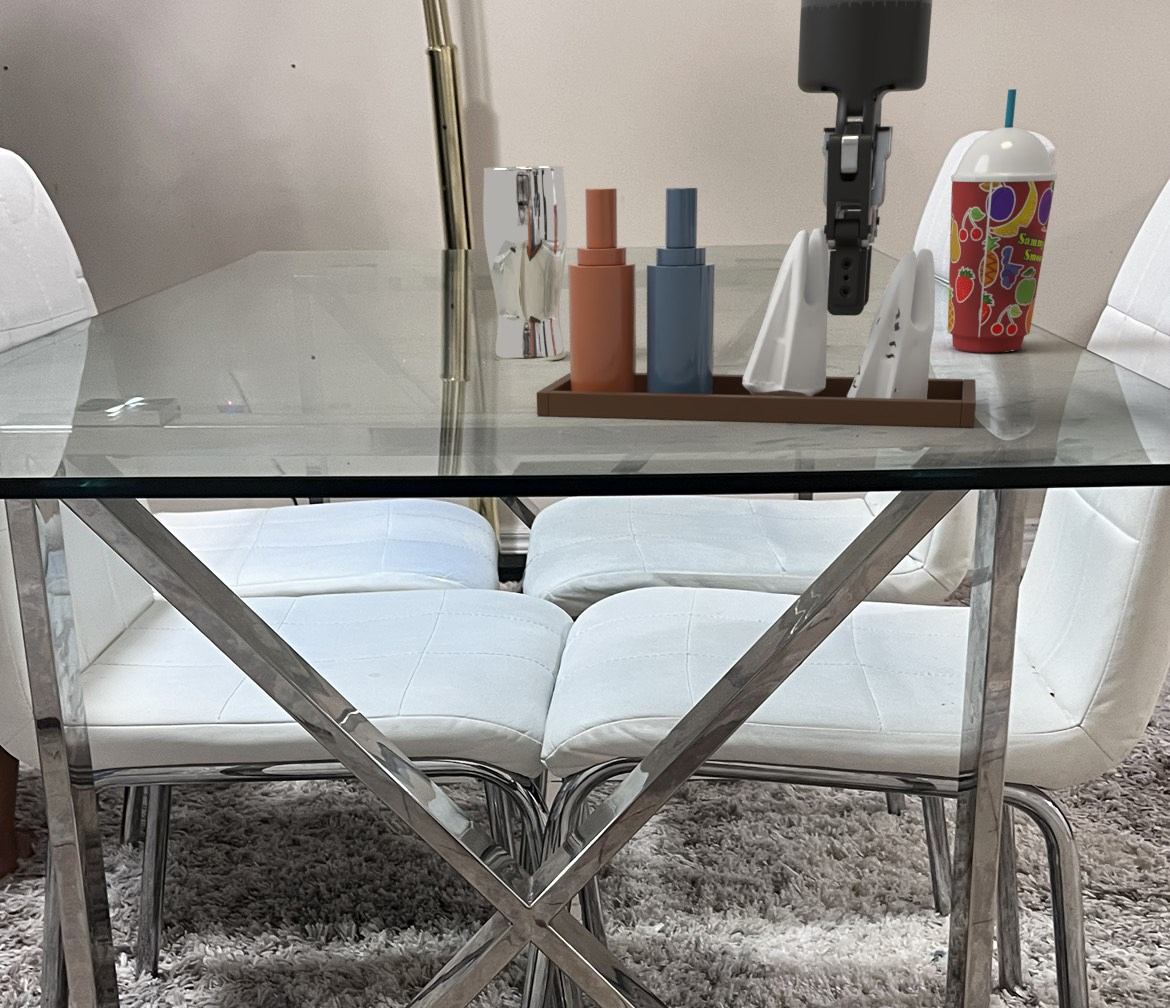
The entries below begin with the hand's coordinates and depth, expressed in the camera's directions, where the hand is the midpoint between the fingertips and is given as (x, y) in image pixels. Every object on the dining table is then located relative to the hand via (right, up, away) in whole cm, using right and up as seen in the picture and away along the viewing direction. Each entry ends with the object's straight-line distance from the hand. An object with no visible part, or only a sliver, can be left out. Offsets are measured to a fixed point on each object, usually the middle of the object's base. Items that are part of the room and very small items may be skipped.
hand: (848, 309), depth 88 cm
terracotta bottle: (-15, -4, +6) cm, 17 cm away
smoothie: (+18, +7, +32) cm, 37 cm away
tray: (-5, -6, +4) cm, 9 cm away
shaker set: (0, -6, +3) cm, 7 cm away
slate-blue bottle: (-10, -5, +5) cm, 12 cm away
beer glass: (-21, +6, +32) cm, 39 cm away
